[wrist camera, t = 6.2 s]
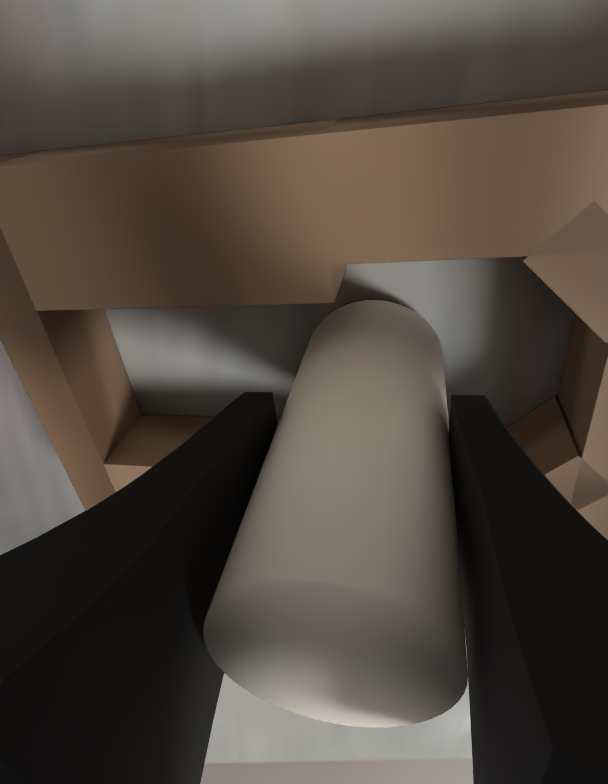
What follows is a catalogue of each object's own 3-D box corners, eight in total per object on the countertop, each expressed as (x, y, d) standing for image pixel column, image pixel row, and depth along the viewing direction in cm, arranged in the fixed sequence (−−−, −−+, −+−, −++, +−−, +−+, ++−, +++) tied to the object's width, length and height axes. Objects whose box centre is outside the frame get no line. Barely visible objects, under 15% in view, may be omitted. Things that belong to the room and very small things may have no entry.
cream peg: (311, 413, 15) (225, 704, 8) (302, 299, 13) (178, 565, 6) (437, 420, 14) (453, 744, 7) (449, 300, 12) (484, 601, 5)
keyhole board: (131, 482, 18) (96, 533, 16) (-2, 155, 12) (-82, 174, 10) (615, 510, 15) (645, 580, 13) (758, 73, 9) (855, 79, 7)
